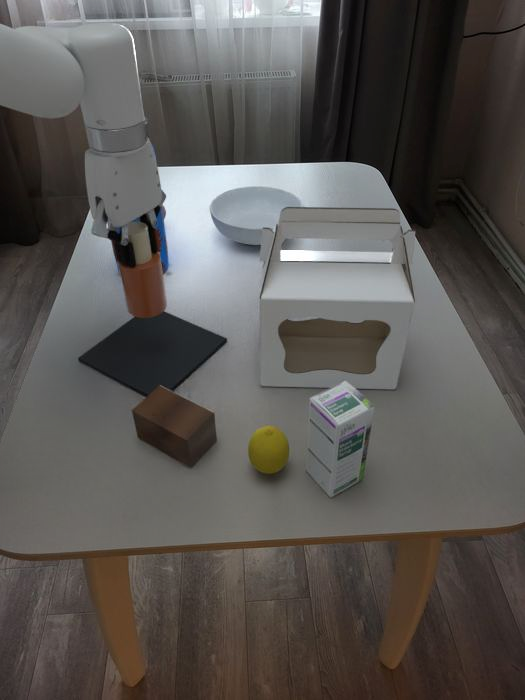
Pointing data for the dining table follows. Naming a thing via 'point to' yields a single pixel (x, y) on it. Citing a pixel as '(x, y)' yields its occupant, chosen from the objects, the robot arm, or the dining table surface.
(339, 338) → the gable box
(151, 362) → the mat
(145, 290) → the two-tone stacked cylinder
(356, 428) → the syrup box
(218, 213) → the serving bowl
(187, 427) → the block
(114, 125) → the robot arm
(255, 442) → the lemon
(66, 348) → the dining table surface
